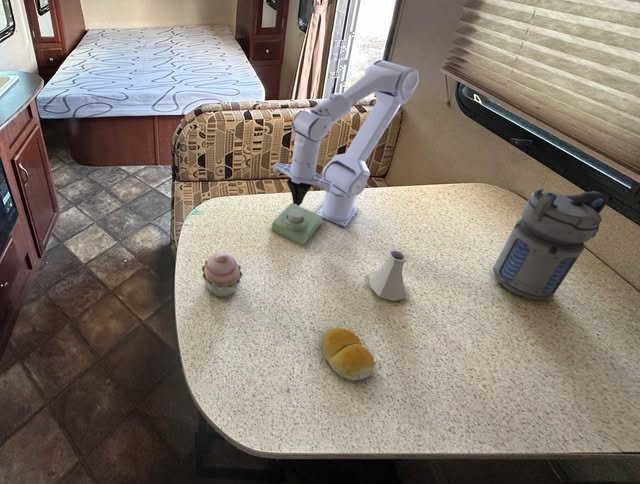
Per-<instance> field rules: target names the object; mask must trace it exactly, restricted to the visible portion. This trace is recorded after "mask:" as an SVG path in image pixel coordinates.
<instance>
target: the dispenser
mask: <svg viewBox="0 0 640 484" xmlns="http://www.w3.org/2000/svg"><path fill="white" fill-rule="evenodd" d="M291 209H299V210H301V211H302V212H303V219H302V222H301V223H293V222H291V221H289V219H288V214H289V210H291ZM322 220H323V218H322V216H321V215H318V214H317V212H314V211H311V210H309V209H307V208H304V207H302V206H301V205H299V206H297V205H295V204H293V202H290V204H289V205H288V206H287V207H286V208H284V210H283V211H282V212H281V213H280V214H279V215H278V216H277V217H276V218H275V219H274V220H273V221H272V226H271V231H273V232H275V233H277V234H279V235H281V236H283V237H285V238H287V239H289V240H292V241H293V242H296V243H297V244H299V245H301V246H305V244H306V243H307V242H308V241H309V239H310V238H311V237H312V236H313V234H314V233H315V232H316V230H317V229H319V227H320V226H321V225H322Z"/></svg>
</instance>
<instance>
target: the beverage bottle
mask: <svg viewBox="0 0 640 484" xmlns="http://www.w3.org/2000/svg"><path fill="white" fill-rule="evenodd" d="M543 191H545V188H540V189H536V190H535V191H533V192H532V193H531V194H530V197H529V198H528V200H527V201H526V203H525V205H524V207H523V210H522V211H521V214H520V216H521V218H519V219H518V220H517V221H516V223H515V224H514V226H513V228H512V230H511V232H510V233H509V236H508V238H507V240H506V242H505V243H504V246H503V247H502V250H501V251H500V253H499V255H498V257H497V259H496V261H495V263H494V264H493V266H492V270H493V275H494V277H495V279H496V280H497V282H498V283H499V284H500V285H502V287H504V288H505V289H507V290H508V291H510V292H512V293H513V294H515V295H517V296H522V298H525V299H529V300H533V301H543V300H547V299H551V298H552V297H554V295H555V294H556V292H557V291H558V290H559V288H560V287H561V285H562V283H563V282H564V280H565V278H566V277H567V275H568V274H569V273H570V271H571V270H572V268H573V267H574V265H575V263H577V260H578V259H579V257H580V256H581V254H582V253H583V251H584V250H585V247H586V244H585V243H588V242H589V241H590V240H591V239H594V237H596V235H597V233H598V232H599V230H600V229H599V228H600V224H601V222H602V216H601V214H600V213H601V212H602V211H603V210H604V208H605V206H606V205H607V204H608V202H609V199H608V198H607V197H606V196H605V195H604V194H603V193H601V192H599V191H596V190H595V191H584V192H582V193H579V194H571V195H563V194H559V193H554V192H543Z"/></svg>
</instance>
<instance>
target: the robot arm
mask: <svg viewBox="0 0 640 484" xmlns="http://www.w3.org/2000/svg"><path fill="white" fill-rule="evenodd" d="M419 83H420V82H419V71H418V69H416V68H415V67H408V66H405V65H402V64H397V63H394V62H389V61H386V60H384V59H380V58H379V59H375V60H374V61H373V62H372V63H371V64H369V65H368V66H367V67H366V69H365V72H364V75H363V76H361V78H359V79H358V80H357V81H356V82H354V83H353V84H352V85H351V86H349V87H348V88H347V89H346V90H345V91H343V92H342V93H340V92H339V93H338V92H335V93H332V94H330V95H329V96H328V97H326V98H325V99H323V100H322V101H321V102H319V103H318V104H316V105H315V106H313V107H312V108H310V109H303V110H300V111H299V112H297V113H296V114H295V116H294V117H293V120H292V121H291V122H290V123H291V124H290V125H291V129H292V130H293V137H294V144H293V152H292V158H291V164H285V163H281V162H276V163H275V164H274V165H273V168H272V169H273V170H272V172H274V173H280V174H283V175H285V176H287V177H288V179H287V181H286V185H287V186H288V188H289V190H290V194H291V197H292V198H291V199H292V203H293V204H295V205H297V206H301V205H302V203H303V201H304V199H305V197H306V195H307V193H308V192H309V190H310V189H311V188H312V186H315V187H318V188H319V189H323V190H324V191H325V195H324V198H323V199H324V200H323V204H322V206H321V207H320V209H319V210H318V211H317V212H316V214H318V215H321V216H322V219H325V220H327V221H329V222H332V223H334V224H336V225H339V226H341V227H344V228H345V227H347V225H348V224H349V222H350V221H351V220H352V219H353V217H354V215H355V214H356V213H357V211H358V209H357V208H355V203H356V200H357V196H359V195H360V194H361V193H362V192H363V191H364V190H365V188H366V186H367V183H368V180H369V177H370V176H371V172H370V170H369V168H368V166H367V164H366V162H367V160H368V159H369V157H370V155H371V154H372V152H373V150H374V149H375V147H376V146H377V144H378V142H379V141H380V139H381V138H382V136H383V135H384V133H385V131H386V130H387V129H388V126H389V125H390V123H391V122H392V120H393V118H394V117H395V115H396V113H397V112H398V111H399V109H400V107H401V105H405V104H407V102H408V101H409V99H410V98H411V96H412V95H413V93H414V91H415V90H416V88H417V87H418V84H419ZM371 94H374V95H375V98H376V102H375V103H374V105H373V106H372V108H371V110H370V111H369V113H368V115H367V116H366V118H365V120H364V121H363V123H362V125H361V126H360V128H359V129H358V131H357V133H356V135H355V136H354V138H353V140H352V141H351V143H350V144H349V146H348V148H347V150H346V151H345V153H341V154H340V153H339V154H336V155H334V156H333V157H332V159H331V160H329V162H328V163H327V164H325V166H324V168H323V170H322V175H320V174H319V173H317V167H318V165H317V164H318V159H319V154H320V148H321V143H322V140H323V139H325V137H326V136H327V135H328V133H329V131H330V130H331V129H333V127H334V124H336V123H338V121H340V120H341V119H342V118H344V117H346V116H347V115H349V114H350V113H351V111H352V106H353V105H355V104H356V103H359V102H360V101H361V100H363V99H365V98H366V97H369V96H370V95H371Z"/></svg>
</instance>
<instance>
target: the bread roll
mask: <svg viewBox="0 0 640 484" xmlns="http://www.w3.org/2000/svg"><path fill="white" fill-rule="evenodd" d="M321 352H322V355H323V357H324V359H325V361H326V362H327V363H328V365H329V366H330V368H331V369H332V370H333V371H334V372H335V373H336V374H337V375H338V376H340V377H341V378H343V379H345V380H349V381H351V382H354V381H361V380H363V379H367V378H369V377H370V376H372V375H373V374H374V369H375V365H376V363H375V359H374V357H373V354H372V353H371V352H370V351H369V350H368V349H367V348H366V347H364V346H363V344H362V341H361V339H360V337H359V336H358V335H357V334H355V333H354V332H352V331H351V330H350V329H346V328H341V327H337V328H331V329H329V330H327V332H325V334H324V335H323V337H322V340H321Z"/></svg>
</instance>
